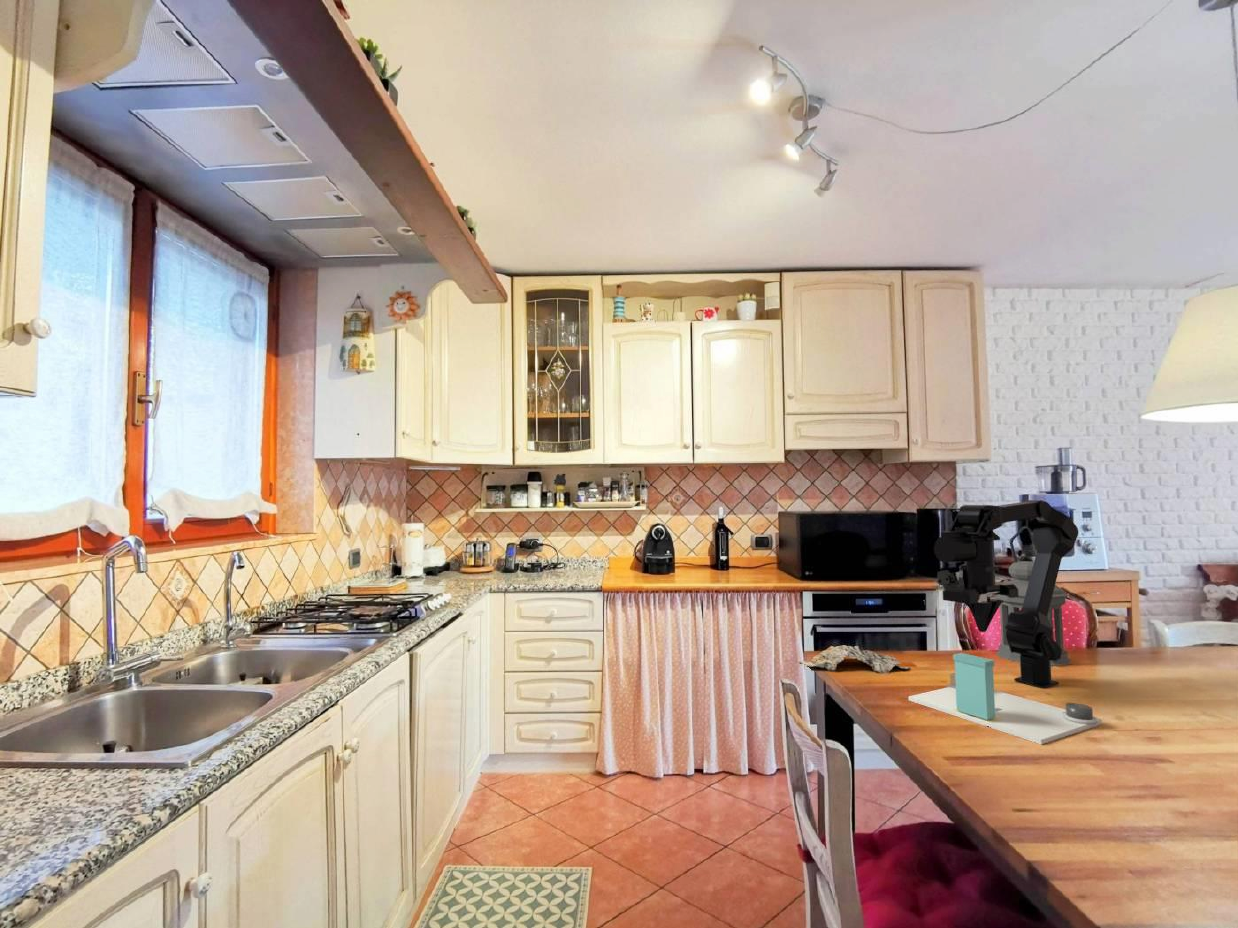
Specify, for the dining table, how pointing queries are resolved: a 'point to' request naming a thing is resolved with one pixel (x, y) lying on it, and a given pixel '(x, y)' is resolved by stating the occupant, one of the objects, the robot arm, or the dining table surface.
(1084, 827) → the dining table surface
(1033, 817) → the dining table surface
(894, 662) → the rock
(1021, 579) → the lantern
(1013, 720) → the console
